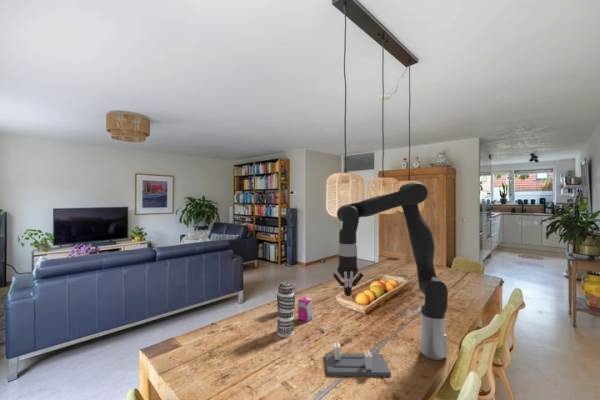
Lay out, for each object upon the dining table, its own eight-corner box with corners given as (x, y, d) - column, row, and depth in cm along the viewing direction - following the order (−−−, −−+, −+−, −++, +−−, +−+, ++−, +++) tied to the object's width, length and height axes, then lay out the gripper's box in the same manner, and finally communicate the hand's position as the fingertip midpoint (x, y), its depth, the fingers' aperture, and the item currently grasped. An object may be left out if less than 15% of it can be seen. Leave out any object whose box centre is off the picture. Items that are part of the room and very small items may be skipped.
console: (381, 357, 113) (381, 353, 113) (391, 376, 101) (391, 372, 101) (325, 356, 113) (325, 353, 113) (327, 375, 101) (327, 371, 101)
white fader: (339, 354, 112) (339, 341, 112) (340, 359, 108) (340, 347, 108) (333, 354, 112) (333, 341, 112) (334, 359, 108) (334, 347, 108)
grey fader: (369, 363, 106) (369, 350, 106) (372, 369, 102) (372, 356, 102) (363, 363, 106) (363, 350, 106) (365, 369, 102) (365, 356, 102)
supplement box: (304, 316, 153) (304, 296, 153) (312, 319, 149) (312, 298, 149) (297, 319, 148) (297, 299, 148) (306, 322, 144) (306, 301, 144)
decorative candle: (273, 335, 131) (273, 284, 131) (281, 327, 139) (281, 279, 139) (290, 339, 128) (291, 286, 128) (297, 330, 136) (297, 281, 136)
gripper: (361, 252, 114) (361, 292, 114) (330, 252, 114) (330, 292, 114) (366, 255, 106) (366, 299, 106) (332, 255, 106) (332, 299, 106)
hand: (347, 295), depth 110 cm, fingers closed
